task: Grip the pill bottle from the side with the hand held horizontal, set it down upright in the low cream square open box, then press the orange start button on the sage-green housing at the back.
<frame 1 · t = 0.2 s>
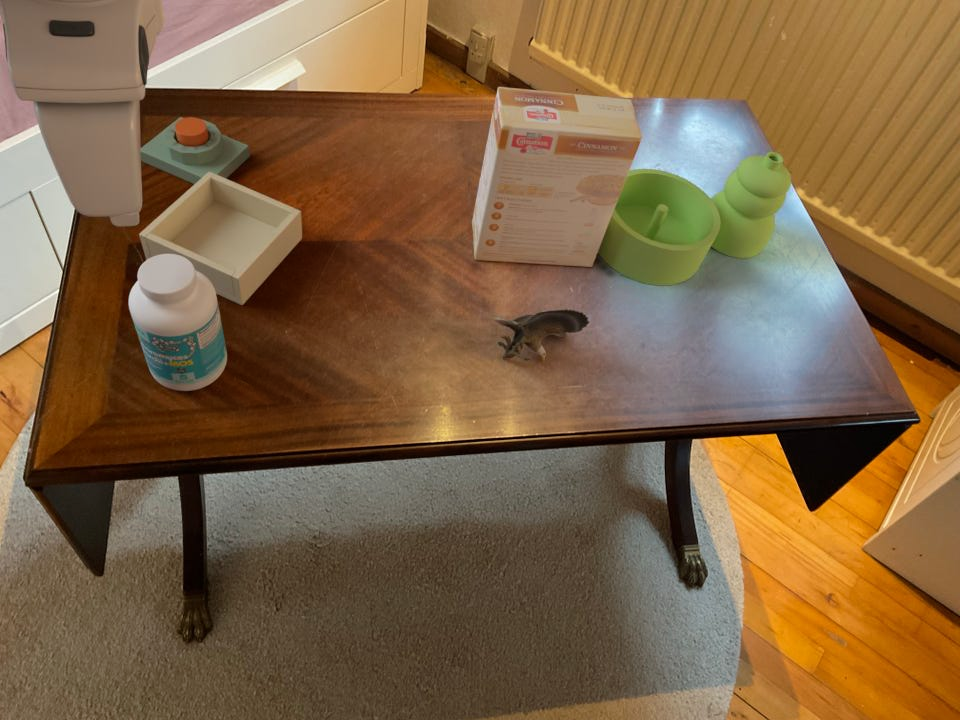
hand: (126, 174, 55), 24 cm above the table, tool pointing down, fingers open, 8 cm apart
coffeecake box: (530, 245, 92), on the table
start button: (191, 132, 89), point 4 cm above the table, slide at 0.1 cm
pill bottle: (190, 365, 75), on the table
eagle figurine: (532, 347, 83), on the table
cream square open box: (227, 249, 84), on the table
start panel: (196, 158, 92), on the table
food container: (680, 240, 98), on the table
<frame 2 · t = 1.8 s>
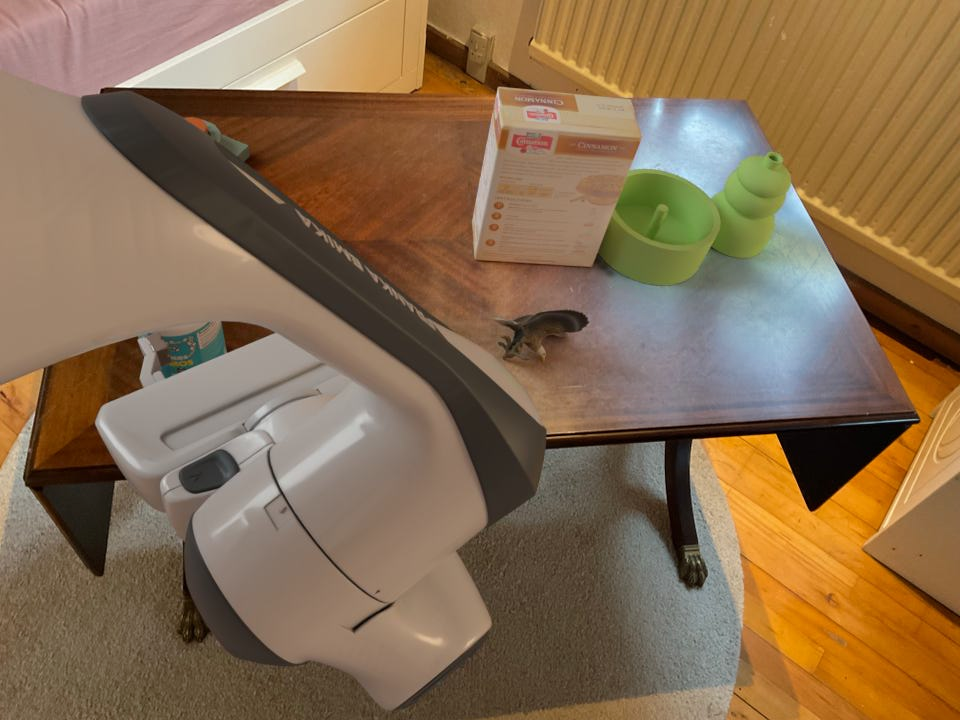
hand: (214, 315, 53), 20 cm above the table, tool horizontal, fingers open, 8 cm apart
nothing on the table moved.
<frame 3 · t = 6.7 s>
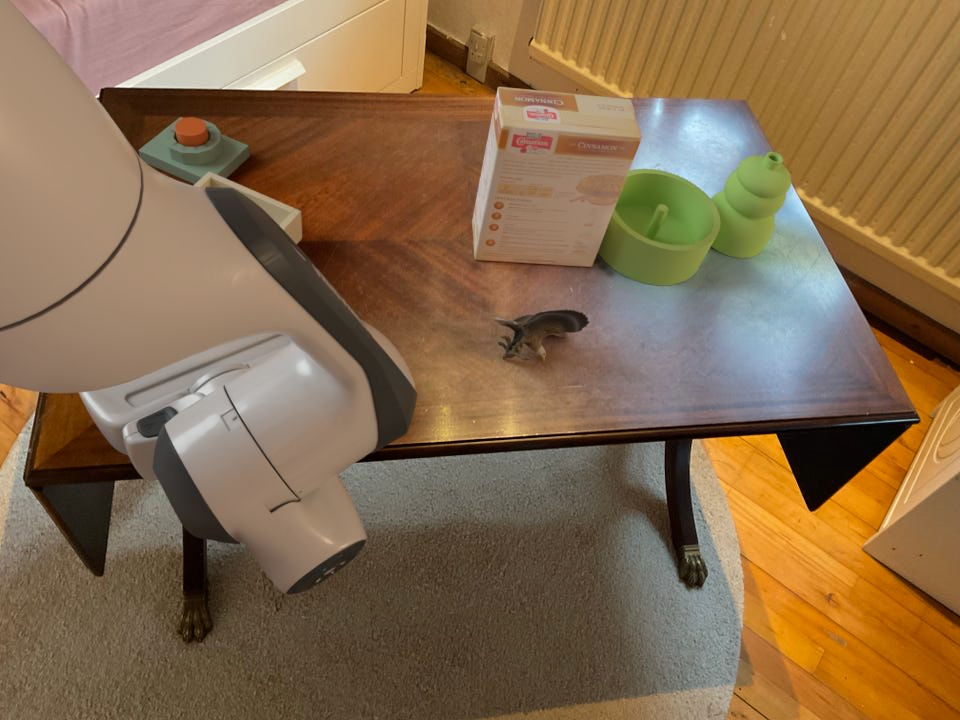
hand: (172, 306, 68), 8 cm above the table, tool horizontal, fingers closed on pill bottle, 7 cm apart
pill bottle: (190, 365, 75), on the table, touching gripper
everything else where it was.
when the fingers open (9 cm above the table, at t = 15.2 s): pill bottle stays where it is, resting on cream square open box.
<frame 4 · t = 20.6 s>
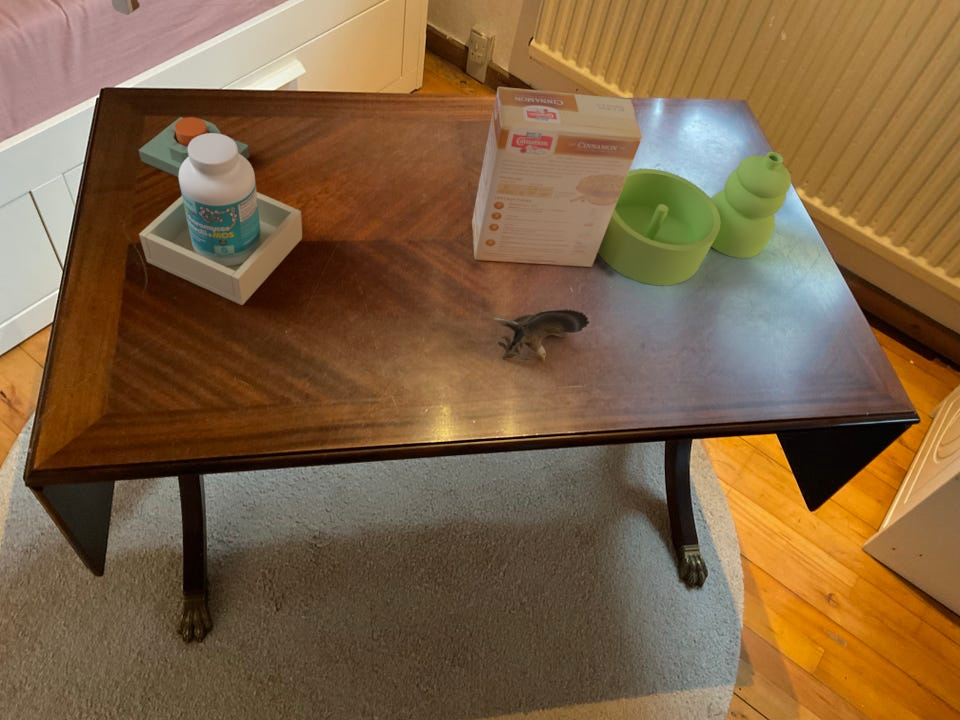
pill bottle: (228, 246, 84), point 1 cm above the table, touching cream square open box
everything else where it was.
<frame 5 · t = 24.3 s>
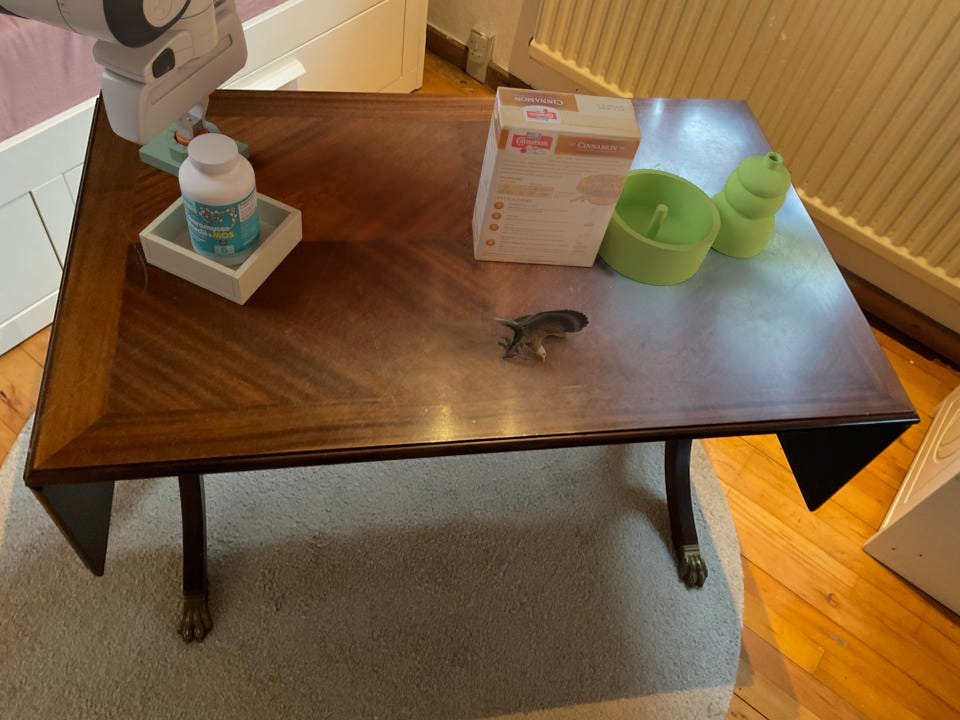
hand: (192, 132, 89), 4 cm above the table, tool pointing down, fingers closed, pressing on start button
start button: (193, 138, 90), point 3 cm above the table, slide at -0.9 cm, touching gripper
everything else where it was.
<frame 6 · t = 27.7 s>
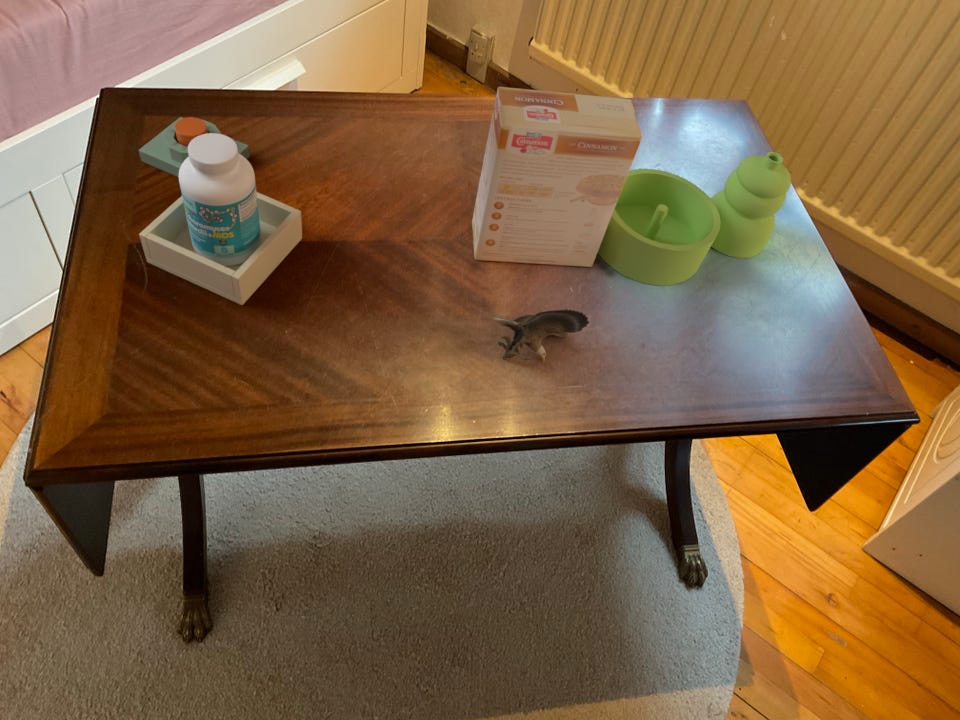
start button: (191, 132, 89), point 4 cm above the table, slide at 0.1 cm
everything else where it was.
at the end: pill bottle 0.2 cm off-centre in the cream square open box, point 0.6 cm above the cream square open box's base; pill bottle tilted 0°; start button pushed in 1.0 cm at the most during the clip, back to where it started at the end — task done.
